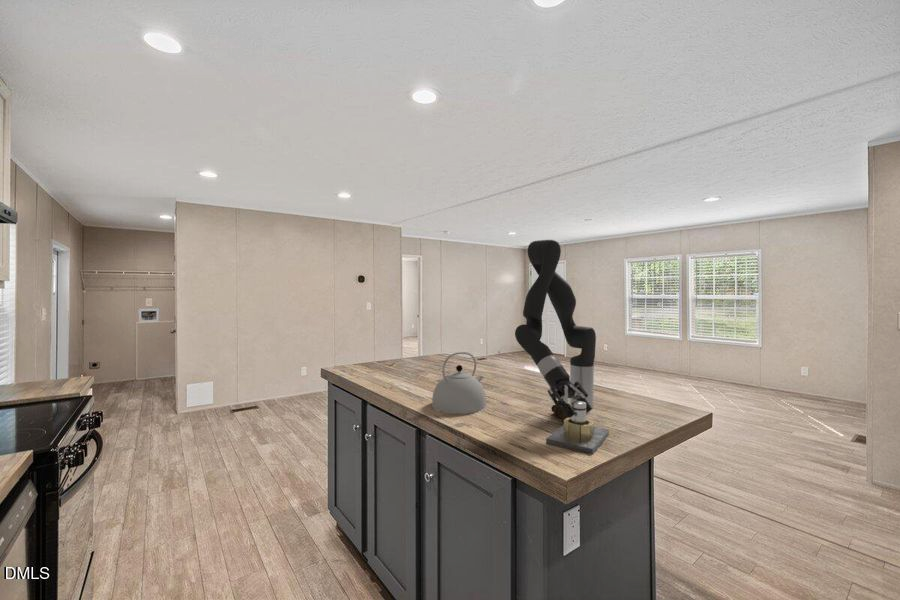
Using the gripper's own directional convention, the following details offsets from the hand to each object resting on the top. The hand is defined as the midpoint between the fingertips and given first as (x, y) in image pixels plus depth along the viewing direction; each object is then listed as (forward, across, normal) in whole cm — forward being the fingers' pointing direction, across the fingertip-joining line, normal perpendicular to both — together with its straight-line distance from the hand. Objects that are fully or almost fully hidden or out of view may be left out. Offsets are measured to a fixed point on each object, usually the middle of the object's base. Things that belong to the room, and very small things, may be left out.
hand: (581, 413), depth 123 cm
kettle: (-31, -8, +44) cm, 54 cm away
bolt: (-6, +12, +18) cm, 23 cm away
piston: (+4, 0, +6) cm, 7 cm away
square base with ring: (+5, 0, +7) cm, 8 cm away
